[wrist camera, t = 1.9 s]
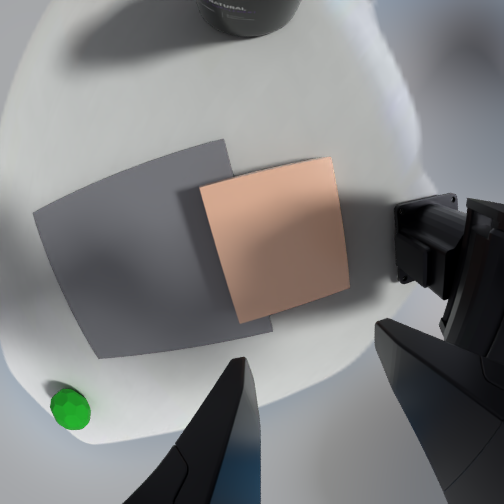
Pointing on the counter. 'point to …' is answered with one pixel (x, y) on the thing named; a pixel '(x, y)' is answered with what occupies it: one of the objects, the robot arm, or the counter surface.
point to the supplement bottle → (248, 15)
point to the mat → (145, 257)
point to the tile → (279, 236)
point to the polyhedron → (70, 409)
